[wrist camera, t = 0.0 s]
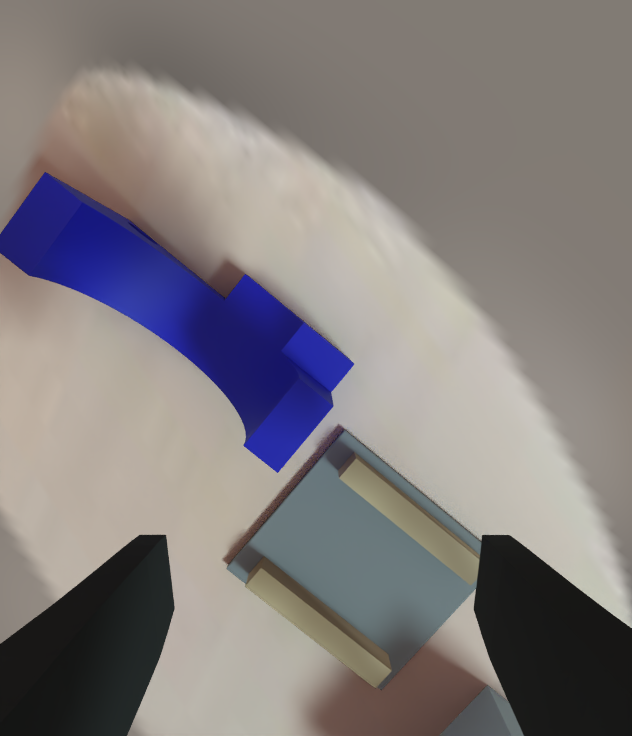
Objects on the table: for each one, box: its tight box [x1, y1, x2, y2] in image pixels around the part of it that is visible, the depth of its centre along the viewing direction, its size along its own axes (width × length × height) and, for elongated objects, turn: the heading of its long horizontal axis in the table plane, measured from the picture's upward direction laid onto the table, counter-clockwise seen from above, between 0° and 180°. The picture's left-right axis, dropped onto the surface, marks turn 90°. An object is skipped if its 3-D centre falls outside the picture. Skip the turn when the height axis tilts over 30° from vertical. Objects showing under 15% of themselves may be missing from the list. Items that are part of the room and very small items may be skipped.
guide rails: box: [245, 452, 480, 689], centre depth 20 cm, size 8×8×1 cm
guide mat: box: [227, 429, 481, 690], centre depth 20 cm, size 9×10×1 cm
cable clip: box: [0, 172, 354, 473], centre depth 17 cm, size 12×4×6 cm, turn 51°
